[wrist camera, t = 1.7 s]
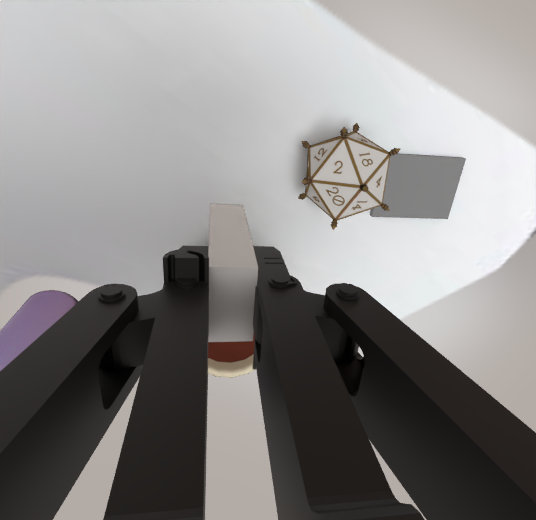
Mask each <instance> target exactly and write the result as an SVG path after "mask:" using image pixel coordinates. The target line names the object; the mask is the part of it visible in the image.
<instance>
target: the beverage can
mask: <svg viewBox="0 0 536 520" xmlns="http://www.w3.org/2000/svg"><path fill="white" fill-rule="evenodd" d="M77 303H78V301H77V300H76V299H75V298H74V297H73V296H71V295H69V294H67V293H65V292H61V291H55V290H49V291H42V292H38V293H36V294H34V295H32V296H31V297H30V298H29V299H28V300H27V301H26V302H25V303H24V304H23V305H22V307H21V308H20V309H19V310H18V311H17V312H16V314H15V315H14V316H13V317H12V318H11V319H10V321H9V322H8V323H7V324H6V325H5V326H4V327H3V328H2V330H1V331H0V371H1V370H2V369H3V368H4V367H6V366H7V365H8V364H9V363H10V362H11V361H12V360H13V359H15V358H16V357H17V356H18V355H19V354H20V353H21V352H22V351H24V350H25V349H26V348H27V347H28V346H29V345H30V344H32V343H33V342H34V341H35V340H36V339H37V338H38V337H39V336H41V335H42V334H43V333H44V332H45V331H46V330H47V329H48V328H50V327H51V326H52V325H53V324H54V323H55V322H56V321H57V320H59V319H60V318H61V317H62V316H63V315H64V314H65V313H67V312H68V311H69V310H70V309H71V308H72V307H73V306H74V305H76V304H77Z"/></svg>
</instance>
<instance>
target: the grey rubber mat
mask: <svg viewBox="0 0 536 520" xmlns="http://www.w3.org/2000/svg"><path fill="white" fill-rule="evenodd" d="M465 160H466V159H465V158H459V157H443V156H426V155H410V154H395V155H391V156H390V162H389V168H388V174H387V180H386V186H385V192H384V199H383V203H384V204H386V205H387V206H388V207H389V210H390V211H384V210H383V209H382V207H381V206H378V207H375V208H372V209H371V213H370V215H371V216H372V217H400V218H433V219H448V216H449V213H450V210H451V206H452V203H453V200H454V196H455V193H456V190H457V186H458V183H459V180H460V176H461V173H462V170H463V166H464V163H465Z"/></svg>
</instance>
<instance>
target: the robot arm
mask: <svg viewBox="0 0 536 520" xmlns="http://www.w3.org/2000/svg"><path fill="white" fill-rule="evenodd" d="M163 269H164V285H163V289H162V290H160V291H158V292H155V293H152V294H148V295H143V296H137V292H136V289H134V288H133V287H131V286H128V285H124V284H111V285H109V284H108V285H104V286H101V287H99V288H96V289H94V290H92V291H91V292H89V293H88V294H87V295H86V296H85V297H83V298H82V299H81V300H80V301H79V302H78V303H77V304H76V305H74V306H73V307H72V308H71V309H70V310H69V311H68V312H67V313H65V314H64V315H63V316H62V317H61V318H60V319H59V320H57V321H56V322H55V323H54V324H53V325H52V326H51V327H50V328H48V329H47V330H46V331H45V332H44V333H43V334H42V335H41V336H39V337H38V338H37V339H36V340H35V341H34V342H33V343H32V344H30V345H29V346H28V347H27V348H26V349H25V350H24V351H22V352H21V353H20V354H19V355H18V356H17V357H16V358H15V359H13V360H12V361H11V362H10V363H9V364H8V365H7V366H6V367H4V368H3V369H2V370H1V371H0V520H53V518H54V516H55V515H56V513H57V511H58V510H59V508H60V506H61V505H62V503H63V502H64V500H65V498H66V497H67V495H68V493H69V492H70V490H71V489H72V487H73V485H74V484H75V482H76V480H77V479H78V477H79V475H80V474H81V472H82V470H83V469H84V467H85V465H86V464H87V462H88V461H89V459H90V457H91V456H92V454H93V452H94V450H95V449H96V447H97V446H98V444H99V442H100V441H101V439H102V438H103V436H104V434H105V433H106V431H107V429H108V428H109V426H110V424H111V423H112V421H113V419H114V418H115V416H116V414H117V413H118V411H119V410H120V408H121V406H122V405H123V403H124V401H125V399H126V398H127V396H128V395H129V393H130V391H131V390H132V388H133V387H134V385H135V383H136V382H137V380H138V378H139V377H140V379H139V383H138V387H137V391H136V395H135V399H134V402H133V406H132V410H131V414H130V418H129V422H128V426H127V430H126V434H125V437H124V442H123V445H122V449H121V453H120V457H119V461H118V465H117V469H116V473H115V477H114V480H113V484H112V488H111V492H110V496H109V500H108V504H107V508H106V512H105V516H104V519H103V520H205V487H206V437H207V390H208V386H207V385H208V342H238V341H253V333H254V335H255V342H254V356H253V369H252V370H254V369H257V376H258V383H259V389H260V396H261V403H262V409H263V416H264V423H265V430H266V437H267V445H268V451H269V458H270V465H271V472H272V479H273V486H274V493H275V500H276V506H277V513H278V520H424V518H423V517H422V515H421V513H420V512H419V511H418V510H417V509H415V508H414V507H413V506H412V505H411V504H403V503H400V502H399V501H398V500H397V499H396V498H395V497H394V495H393V493H392V491H391V489H390V487H389V484H388V482H387V480H386V478H385V475H384V473H383V471H382V468H381V466H380V464H379V462H378V459H377V457H376V455H375V452H374V450H373V448H372V446H371V443H372V444H373V445H374V447H375V448H376V449H377V451H378V452H379V454H380V455H381V456H382V458H383V459H384V460H385V462H386V463H387V465H388V466H389V468H390V469H391V470H392V472H393V473H394V474H395V476H396V477H397V479H398V480H399V481H400V483H401V484H402V486H403V487H404V488H405V490H406V491H407V493H408V494H409V496H410V497H411V498H412V500H413V501H414V503H415V504H416V505H417V507H418V508H419V510H420V511H421V512H422V514H423V515H424V517H425V518H426V519H427V520H536V433H535V432H534V431H533V430H532V429H530V428H529V427H528V426H527V425H526V424H524V423H523V422H522V421H521V420H520V419H518V418H517V417H516V416H515V415H514V414H512V413H511V412H510V411H509V410H507V409H506V408H505V407H504V406H503V405H502V404H500V403H499V402H498V401H497V400H495V399H494V398H493V397H492V396H491V395H490V394H488V393H487V392H486V391H485V390H484V389H482V388H481V387H480V386H479V385H478V384H476V383H475V382H474V381H473V380H472V379H470V378H469V377H468V376H467V375H465V374H464V373H463V372H462V371H461V370H459V369H458V368H457V367H456V366H455V365H453V364H452V363H451V362H450V361H449V360H447V359H446V358H445V357H444V356H442V355H441V354H440V353H439V352H438V351H437V350H435V349H434V348H433V347H432V346H431V345H429V344H428V343H427V342H426V341H425V340H423V339H422V338H421V337H420V336H419V335H417V334H416V333H415V332H414V331H412V330H411V329H410V328H409V327H408V326H407V325H405V324H404V323H403V322H402V321H401V320H399V319H398V318H397V317H396V316H395V315H393V314H392V313H391V312H390V311H389V310H387V309H386V308H385V307H384V306H383V305H381V304H380V303H379V302H378V301H377V300H375V299H374V298H373V297H372V296H370V295H369V294H368V293H367V292H366V291H364V290H362V289H361V288H359V287H356V286H354V285H352V284H347V283H342V284H333V285H330V286H329V287H328V288H326V294H325V295H320V294H314V293H310V292H306V291H304V290H303V288H302V285H301V283H300V282H299V281H298V279H296V278H294V277H292V276H290V275H289V273H288V270H287V268H286V265H285V263H284V260H283V258H282V255H281V253H280V251H278V250H277V249H276V248H274V247H264V246H253V244H252V240H251V236H250V232H249V228H248V223H247V219H246V215H245V211H244V207H243V205H231V204H210V224H209V246H182V247H181V248H180V249H179V250H175V251H171V252H169V253H167V254H165V256H164V257H163ZM359 347H360V348H361V350H362V352H363V354H364V357H362V356H361V355H360V354H359V353H358V348H359ZM368 438H369V439H368ZM369 440H370V441H371V443H370V441H369Z"/></svg>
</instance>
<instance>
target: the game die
mask: <svg viewBox="0 0 536 520" xmlns="http://www.w3.org/2000/svg"><path fill="white" fill-rule="evenodd" d="M358 130H359V126H358V124H357V123H356V124H355V125H354V126H353V132H351V133H348V134H347V129H345V127H344V128H343V129H342V130H341V131H340V132H341V135H342V136H339V137H336V138H333V139H330V140H327V141H324V142H321V143H318V144H315V145H312V146H310V145H309V143H308V142H307V141H302V144H303V147H305V148H308V160H307V175H306V178H304V180H303V181H302V183H304V185H306V189H305V193H303V194H300V196H299V198H298V199H302V200H303V199H304V198H305V197H306V196H307V197H308V198H310V199H311V200H312V201H313V202H314V203H315V204H316V205H317V206H319V207H320V208H321V209H322V210H323V211H324V212H325V213H327V214H328V215H329V216H330V217H331V218H332V219H333V221H332V222H331V223H332V224H331V226H332V229H334V228H335V227H337V220H340V219H343V218H346V217H349V216H352V215H355V214H358V213H360V212H363V211H366V210H369V209H372V208H375V207H378V206H381V207H382V209H383V210H384V211H390V210H389V207H388V206H387V205H386V204H384V203H383V199H384V192H385V186H386V180H387V174H388V168H389V162H390V156H391V155H395V154H398V152H399V150H400V149H397V148H394V149H393V150H392V149H391V151H390V152H388V151H386V150H384V149H383V148H381V147H380V146H378V145H376V144H375V143H373V142H372V141H370V140H368V139H367V138H365V137H364V136H362V135H360V134H359V133H357V131H358Z"/></svg>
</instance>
